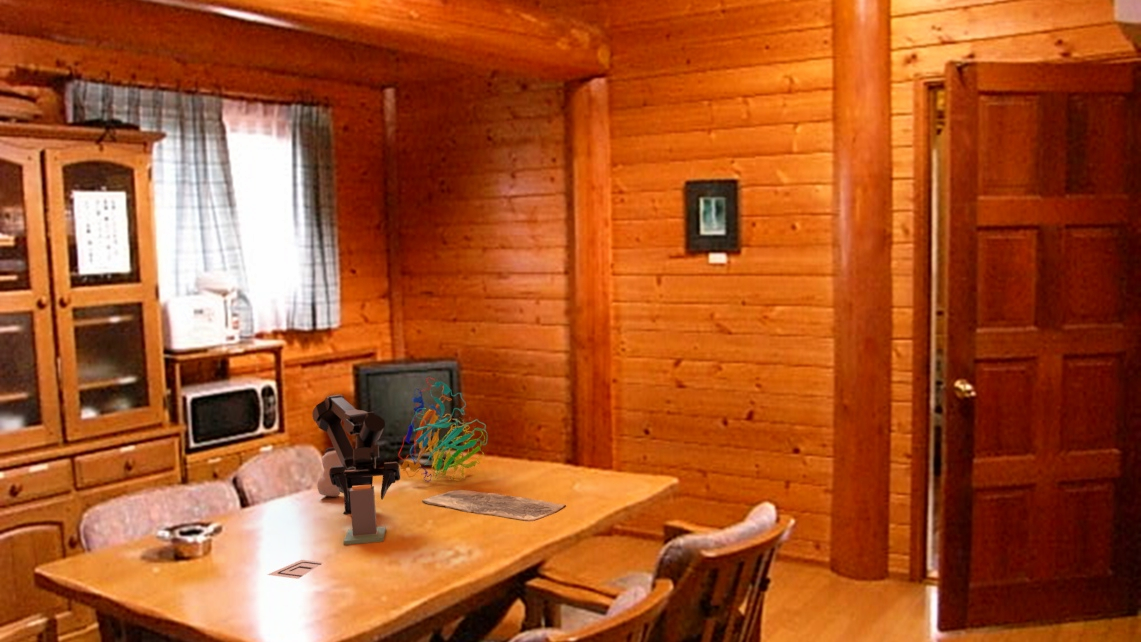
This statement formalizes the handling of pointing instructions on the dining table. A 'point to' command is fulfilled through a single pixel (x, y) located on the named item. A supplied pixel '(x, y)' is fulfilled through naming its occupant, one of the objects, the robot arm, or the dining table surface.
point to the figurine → (325, 482)
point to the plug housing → (363, 510)
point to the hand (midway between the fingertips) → (364, 500)
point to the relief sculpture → (495, 504)
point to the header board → (365, 537)
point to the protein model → (435, 440)
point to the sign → (296, 569)
